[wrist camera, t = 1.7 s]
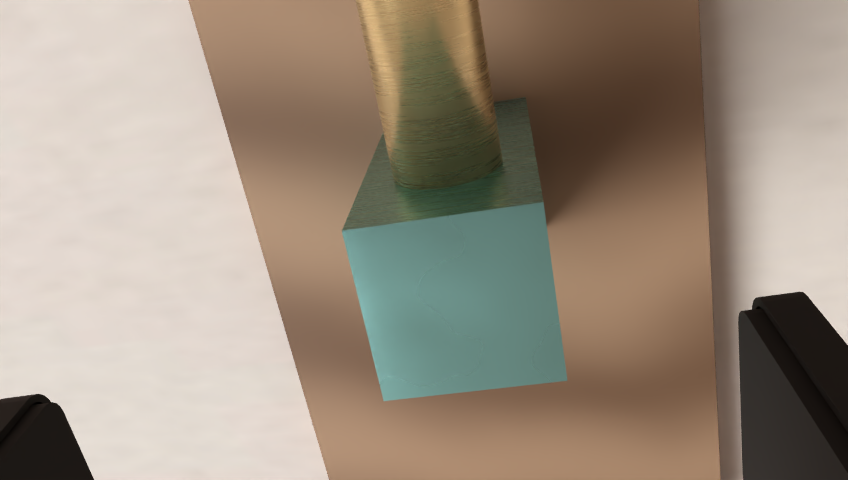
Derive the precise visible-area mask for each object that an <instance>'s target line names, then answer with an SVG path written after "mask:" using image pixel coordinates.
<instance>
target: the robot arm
mask: <svg viewBox="0 0 848 480" xmlns="http://www.w3.org/2000/svg"><path fill="white" fill-rule="evenodd" d="M738 325H739V360H740V394H741V429H742V463H743V480H848V345H847V344H846V343H845V342H844V340H843V339H842V338H841V337H840V335H839V334H838V333H837V332H836V331H835V329H834V328H833V327H832V326H831V324H830V323H829V322H828V321H827V319H826V318H825V317H824V316H823V315H822V313H821V312H820V311H819V310H818V308H817V307H816V306H815V305H814V304H813V302H812V301H811V300H810V299H809V297H808V296H807V295H806V294H805V293H803V292H795V293H787V294H780V295H772V296H765V297H757V298H755V299H754V301H753V305H752V310H745V311H741V312H740V313H739V321H738ZM0 480H94V479H93V476H92V474H91V472H90V470H89V467H88V465H87V463H86V461H85V459H84V456H83V454H82V452H81V450H80V447H79V445H78V443H77V441H76V439H75V436H74V434H73V432H72V430H71V427H70V425H69V423H68V421H67V419H66V416H65V414H64V412H63V410H62V408H61V407H60V406H59V405H58V404H57V403H53V402H52V403H51V402H50V400H49V399H48V398H47V397H45V396H44V395H40V394H35V395H27V396H20V397H12V398H5V399H1V400H0Z"/></svg>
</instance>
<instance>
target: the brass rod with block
mask: <svg viewBox="0 0 848 480" xmlns="http://www.w3.org/2000/svg"><path fill="white" fill-rule="evenodd" d="M356 5H357V10H358V14H359V19H360V24H361V29H362V33H363V38H364V43H365V47H366V52H367V57H368V61H369V66H370V71H371V76H372V80H373V85H374V90H375V94H376V99H377V104H378V109H379V113H380V118H381V123H382V127H383V134H382V136H381V138H380V141H379V143H378V146H377V148H376V150H375V153H374V155H373V157H372V160H371V162H370V165H369V167H368V169H367V172H366V174H365V177H364V179H363V181H362V184H361V186H360V188H359V191H358V193H357V196H356V198H355V200H354V203H353V205H352V207H351V210H350V212H349V215H348V217H347V219H346V222H345V224H344V227H343V229H342V234H343V238H344V242H345V246H346V251H347V255H348V259H349V263H350V267H351V271H352V275H353V279H354V283H355V287H356V291H357V295H358V299H359V303H360V307H361V311H362V315H363V319H364V323H365V328H366V332H367V336H368V340H369V344H370V348H371V352H372V356H373V360H374V364H375V368H376V372H377V376H378V380H379V384H380V388H381V392H382V396H383V400H384V401H389V400H398V399H407V398H416V397H425V396H434V395H443V394H452V393H461V392H470V391H479V390H488V389H497V388H506V387H515V386H524V385H533V384H542V383H551V382H560V381H567V373H566V366H565V359H564V351H563V344H562V336H561V329H560V321H559V314H558V306H557V299H556V292H555V284H554V277H553V269H552V262H551V254H550V247H549V239H548V232H547V224H546V217H545V210H544V202H543V196H542V190H541V184H540V179H539V173H538V167H537V161H536V155H535V149H534V143H533V137H532V131H531V126H530V120H529V114H528V108H527V102H526V97H522V98H516V99H510V100H504V101H498V102H494V101H493V94H492V88H491V81H490V75H489V68H488V62H487V55H486V49H485V42H484V36H483V29H482V22H481V16H480V9H479V3H478V0H356Z"/></svg>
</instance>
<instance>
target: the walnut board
mask: <svg viewBox="0 0 848 480" xmlns="http://www.w3.org/2000/svg"><path fill="white" fill-rule="evenodd" d="M478 3H479V9H480V16H481V22H482V29H483V36H484V42H485V49H486V55H487V62H488V68H489V75H490V81H491V88H492V94H493V101H494V102H498V101H504V100H510V99H516V98H522V97H526V102H527V108H528V114H529V120H530V126H531V131H532V137H533V143H534V149H535V155H536V161H537V167H538V173H539V179H540V184H541V190H542V196H543V202H544V210H545V217H546V224H547V232H548V239H549V247H550V254H551V262H552V269H553V277H554V284H555V292H556V299H557V306H558V314H559V321H560V329H561V336H562V344H563V351H564V359H565V366H566V373H567V381H560V382H551V383H542V384H533V385H524V386H515V387H506V388H497V389H488V390H479V391H470V392H461V393H452V394H443V395H434V396H425V397H416V398H407V399H398V400H389V401H384V400H383V396H382V392H381V388H380V384H379V380H378V376H377V372H376V368H375V364H374V360H373V356H372V352H371V348H370V344H369V340H368V336H367V332H366V328H365V323H364V319H363V315H362V311H361V307H360V303H359V299H358V295H357V291H356V287H355V283H354V279H353V275H352V271H351V267H350V263H349V259H348V255H347V251H346V246H345V242H344V238H343V234H342V229H343V227H344V224H345V222H346V219H347V217H348V215H349V212H350V210H351V207H352V205H353V203H354V200H355V198H356V196H357V193H358V191H359V188H360V186H361V184H362V181H363V179H364V177H365V174H366V172H367V169H368V167H369V165H370V162H371V160H372V157H373V155H374V153H375V150H376V148H377V146H378V143H379V141H380V138H381V136H382V134H383V127H382V123H381V118H380V113H379V109H378V104H377V99H376V94H375V90H374V85H373V80H372V76H371V71H370V66H369V61H368V57H367V52H366V47H365V43H364V38H363V33H362V29H361V24H360V19H359V14H358V10H357V5H356V0H189V4H190V7H191V11H192V14H193V17H194V21H195V24H196V28H197V31H198V34H199V38H200V41H201V45H202V48H203V51H204V55H205V58H206V62H207V65H208V69H209V72H210V75H211V79H212V82H213V86H214V89H215V92H216V96H217V99H218V103H219V106H220V109H221V113H222V116H223V120H224V123H225V126H226V130H227V133H228V137H229V140H230V143H231V147H232V150H233V154H234V157H235V160H236V164H237V167H238V171H239V174H240V178H241V181H242V184H243V188H244V191H245V195H246V198H247V201H248V205H249V208H250V212H251V215H252V218H253V222H254V225H255V229H256V232H257V235H258V239H259V242H260V246H261V249H262V252H263V256H264V259H265V263H266V266H267V269H268V273H269V276H270V280H271V283H272V286H273V290H274V293H275V297H276V300H277V304H278V307H279V310H280V314H281V317H282V321H283V324H284V327H285V331H286V334H287V338H288V341H289V344H290V348H291V351H292V355H293V358H294V361H295V365H296V368H297V372H298V375H299V378H300V382H301V385H302V389H303V392H304V395H305V399H306V402H307V406H308V409H309V413H310V416H311V419H312V423H313V426H314V430H315V433H316V436H317V440H318V443H319V447H320V450H321V453H322V457H323V460H324V464H325V467H326V470H327V474H328V477H329V480H720V458H719V436H718V414H717V392H716V371H715V349H714V327H713V305H712V283H711V261H710V240H709V218H708V196H707V174H706V152H705V131H704V109H703V87H702V65H701V43H700V21H699V0H478Z"/></svg>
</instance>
